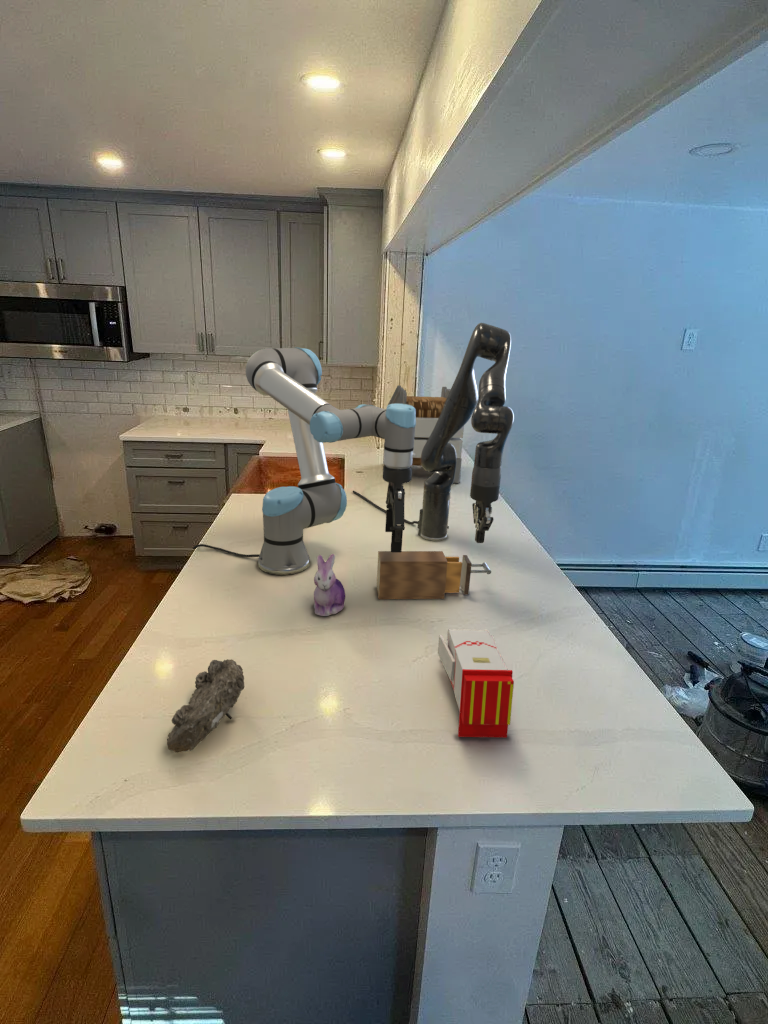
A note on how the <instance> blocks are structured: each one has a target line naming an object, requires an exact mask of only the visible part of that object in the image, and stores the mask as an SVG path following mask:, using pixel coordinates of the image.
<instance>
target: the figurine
mask: <svg viewBox="0 0 768 1024" xmlns="http://www.w3.org/2000/svg"><path fill="white" fill-rule="evenodd" d="M335 559H336V555H335V554H334V553H331V554H330V555H329V557H328V558H327V559H326V561H325V559H324V557H323V556H322V554H319V555H317V557H316V566H317V570H316V572H315V574H314V577H313V582H314V585H315V586H316V587H315V589H314V591H313V601H314V604H313V609H314V614H315V615H316V616H321V617H328V616H331V615H337V614H338V613H340V612H341V611H342V610H343V609H344V608H345V604H346V603H345V601H346V590H345V586H344V585H343V583H342V581H340V580H339V579H338V578H337V577H336V574H335V572H334V570H333V568H334V563H335Z"/></svg>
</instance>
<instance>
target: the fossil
mask: <svg viewBox="0 0 768 1024" xmlns="http://www.w3.org/2000/svg"><path fill="white" fill-rule="evenodd" d="M243 670H244V669H243V667H242V665H240V664H237V662H236V661H235V660H234V659H232V658H231V659H227V658H226V659H224V660H223V661H222V660H217V659H212V660H211V661H210V663H209V665H208V666H207V671H201V672H199V673H198V674H197V675H196V676H195V680H194V684H195V685H194V687H195V689H194V690H193V693H192V694H191V697H190V698H189V700H188V704H184V705H182V706H181V707H180V709H177V710H176V711H175V713H174V715H173V716H172V718H171V723H172V724H173V727H172V730H171V731H170V732H168V734H167V738H166V741H167V742H166V745H167V749H168V750H169V751H173V752H174V753H176V754H178V753H182V752H188V751H189V752H192V751H193V750H195V748H196V747H197V746H199V744H200V743H201V742H203V741H204V740H205V739H206V738H207V737H208V736H209V735H210V734H211V733H212V732H214V730H215V729H217V727H218V726H219V724H220V722H221V721H222V720H223V719H224V718H225V716H226V717H227V719H229V720H233V717H232V715H230V714H229V710H230V709H231V708H234V706H235V704H236V703H237V702H238V699H239V697H240V695H241V693H242V691H243V690H245V689H244V688H245V675H244V671H243Z"/></svg>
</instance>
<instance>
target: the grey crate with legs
mask: <svg viewBox="0 0 768 1024" xmlns="http://www.w3.org/2000/svg"><path fill="white" fill-rule="evenodd" d="M450 390H451V388H447V386H442V387H441V392H440V393H441V394H440V396H415V395H414V396H413V395H412V396H411V395H407V394H408V393H407V390H406V389H404V388H403V387H402V385H399V384H398V385H397V386H396V388H395V390H394V392H393V394H392V395H391V398H390V400H389V402H388V404H387V405H386V407H387V406H388V405H390V404H407V405H411V406H413V407H414V408H415V410H416V426H415V435H414V449H413V453H415V457H412V459H413V461H412V465H411V467H412V466H413V467H415V466H416V467H417V466H418V467H422V465H421V453H422V450H423V448H424V446H425V444H426V442H427V440H428V438H429V437H430V435H431V433H432V431H433V429H434V427H435V425H436V423H437V421H438V418H439V416H440V414H441V412H442V409H443V407H444V404H445V401H446V399H447V397H448V394H449V392H450ZM464 429H465V425H464V426H463V427H462V428H461V429H460V430H459V431H458V432H457V433H456V434H455V435H454V436H453V437H452V438H451V439H450V440H449V442H448V443H450V444H452V445H453V446H454V448H455V450H456V455H457V461H456V469H455V476H454V482H453V484H455V483H456V484H459V483H461V472H462V461H463V460H462V453H463V442H464V441H463V440H462V439H463V438H464V431H465V430H464ZM384 443H385V441H384V442H383V444H384ZM382 463H383V462H382ZM384 465H385V464H384V463H383V466H384Z"/></svg>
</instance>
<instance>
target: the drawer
mask: <svg viewBox="0 0 768 1024" xmlns="http://www.w3.org/2000/svg"><path fill="white" fill-rule="evenodd" d="M445 557H446V559H447V561H448V562H447V573H446V584H445V594H446V593H447V594H448V593H450V594H451V593H453V594H455V593H458V594H459V593H460V589H461V590H462V593H463V595H465V596H466V595H467V596H468V595H469V593H470V582H471V574H487V575H491V574H492V570H491V568H490V567H489V564H488V563H486V562H482V563H472V561H471V560H470V558H469V556H468V554H463V555H462V557H461V558H462V559H461V561H460V556H445ZM481 567H482V568H483V569H472V568H481Z"/></svg>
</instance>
